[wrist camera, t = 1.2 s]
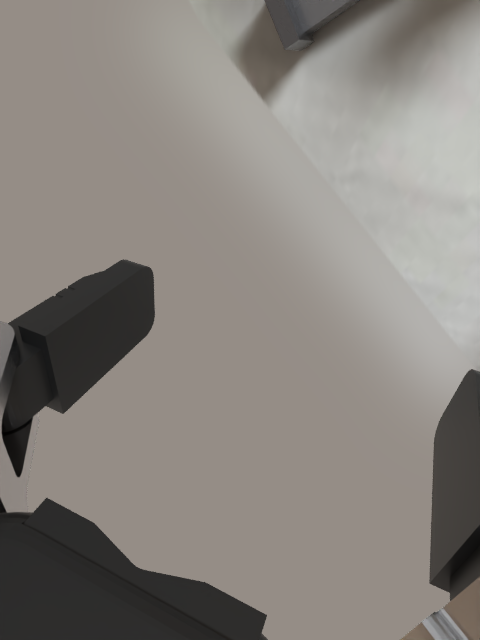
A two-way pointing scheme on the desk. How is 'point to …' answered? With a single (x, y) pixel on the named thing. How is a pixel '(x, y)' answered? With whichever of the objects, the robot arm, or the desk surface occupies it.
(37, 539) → the robot arm
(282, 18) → the rail
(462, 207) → the desk surface
